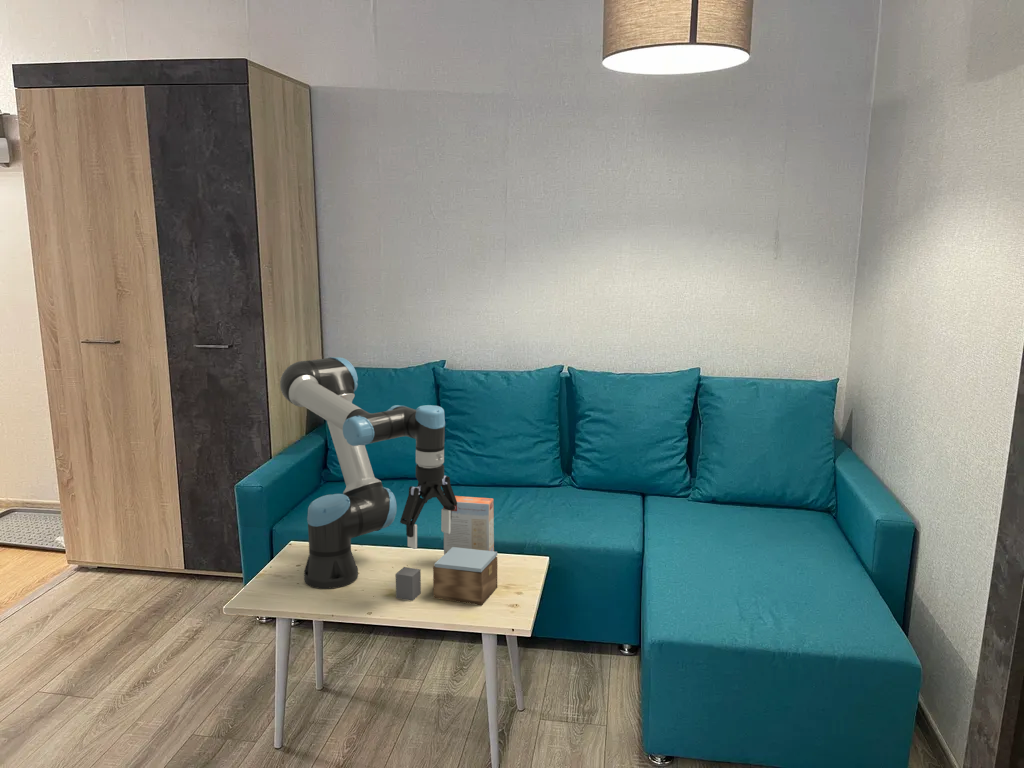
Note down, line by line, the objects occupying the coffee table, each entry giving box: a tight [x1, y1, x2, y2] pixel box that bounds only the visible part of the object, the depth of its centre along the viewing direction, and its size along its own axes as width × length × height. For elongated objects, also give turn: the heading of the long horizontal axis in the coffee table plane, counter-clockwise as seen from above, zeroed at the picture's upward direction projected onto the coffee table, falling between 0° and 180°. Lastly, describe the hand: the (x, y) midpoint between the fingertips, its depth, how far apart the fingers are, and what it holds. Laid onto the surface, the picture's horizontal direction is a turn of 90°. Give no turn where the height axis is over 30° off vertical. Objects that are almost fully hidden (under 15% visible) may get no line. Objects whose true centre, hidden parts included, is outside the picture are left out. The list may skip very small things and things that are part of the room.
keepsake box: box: [432, 556, 498, 607], centre depth 219 cm, size 14×12×9 cm
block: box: [395, 566, 422, 602], centre depth 217 cm, size 5×5×7 cm
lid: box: [433, 547, 498, 572], centre depth 218 cm, size 13×12×1 cm
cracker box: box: [442, 495, 495, 555], centre depth 235 cm, size 14×6×21 cm, turn 77°
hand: (429, 539), depth 216 cm, fingers open, 13 cm apart
